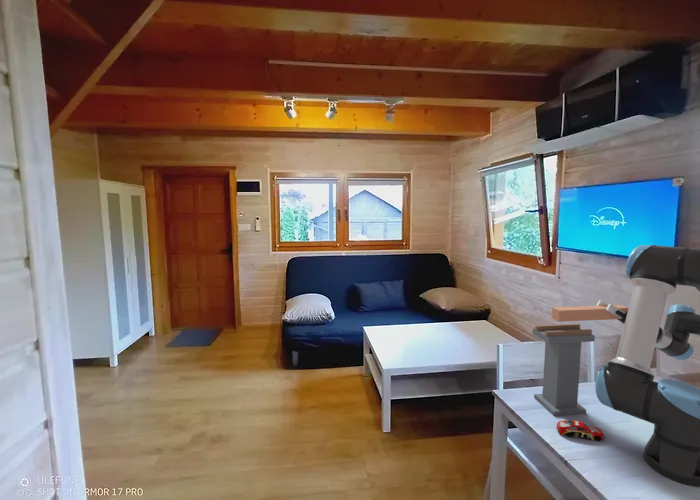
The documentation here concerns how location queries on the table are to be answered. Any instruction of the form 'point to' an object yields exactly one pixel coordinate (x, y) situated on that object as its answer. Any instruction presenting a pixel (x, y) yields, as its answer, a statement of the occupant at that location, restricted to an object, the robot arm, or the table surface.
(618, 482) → the table surface
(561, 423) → the race car
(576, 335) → the stand
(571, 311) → the bar
